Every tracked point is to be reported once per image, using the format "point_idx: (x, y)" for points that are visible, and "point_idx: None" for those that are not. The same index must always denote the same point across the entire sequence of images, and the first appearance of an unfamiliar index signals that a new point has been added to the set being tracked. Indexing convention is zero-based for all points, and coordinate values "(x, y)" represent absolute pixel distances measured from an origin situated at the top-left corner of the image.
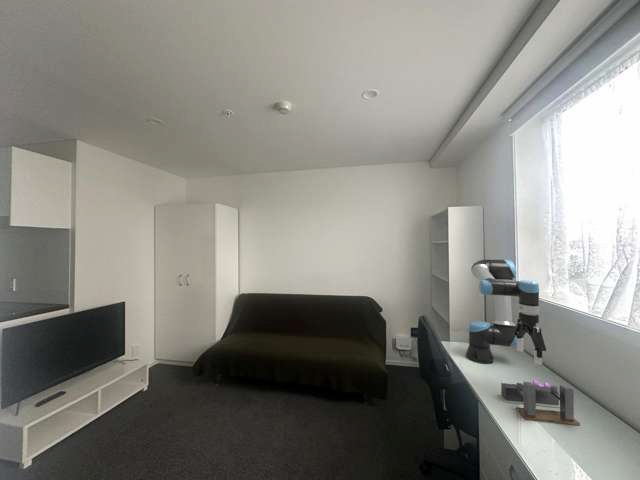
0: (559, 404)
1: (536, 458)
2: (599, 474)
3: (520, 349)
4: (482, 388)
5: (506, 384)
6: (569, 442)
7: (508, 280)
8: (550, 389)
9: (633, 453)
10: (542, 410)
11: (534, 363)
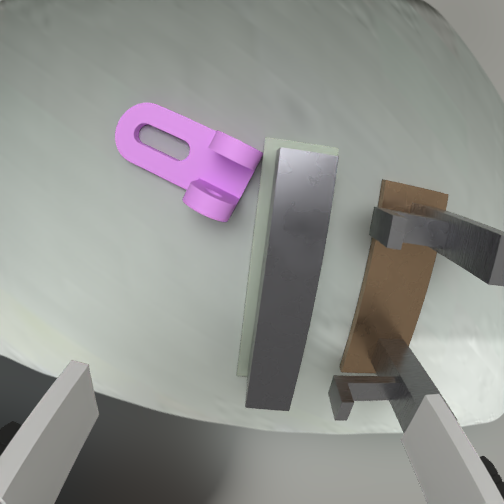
0: (315, 147)
1: (487, 406)
2: None
3: (85, 409)
4: (192, 399)
5: (259, 395)
6: (488, 305)
7: None
8: (309, 184)
9: None
10: (372, 284)
11: (404, 439)
